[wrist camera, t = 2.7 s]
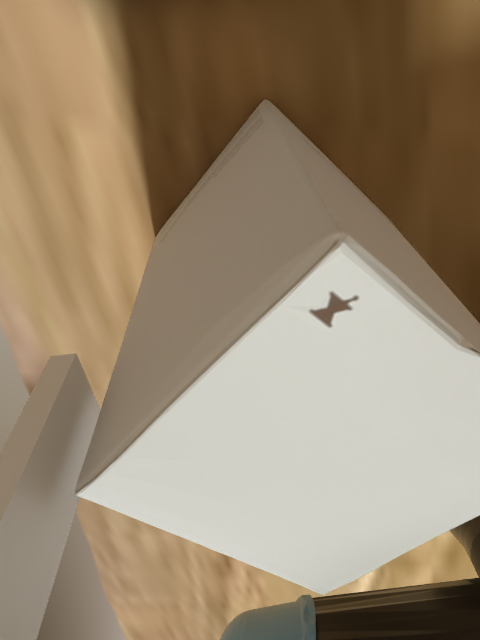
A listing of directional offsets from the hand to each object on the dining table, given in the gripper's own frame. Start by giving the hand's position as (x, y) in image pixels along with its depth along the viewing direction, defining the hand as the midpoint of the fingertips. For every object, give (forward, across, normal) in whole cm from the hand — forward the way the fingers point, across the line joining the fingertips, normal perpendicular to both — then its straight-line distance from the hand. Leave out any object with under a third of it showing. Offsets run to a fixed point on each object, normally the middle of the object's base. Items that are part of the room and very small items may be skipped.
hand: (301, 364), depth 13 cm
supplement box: (+11, 0, 0) cm, 11 cm away
